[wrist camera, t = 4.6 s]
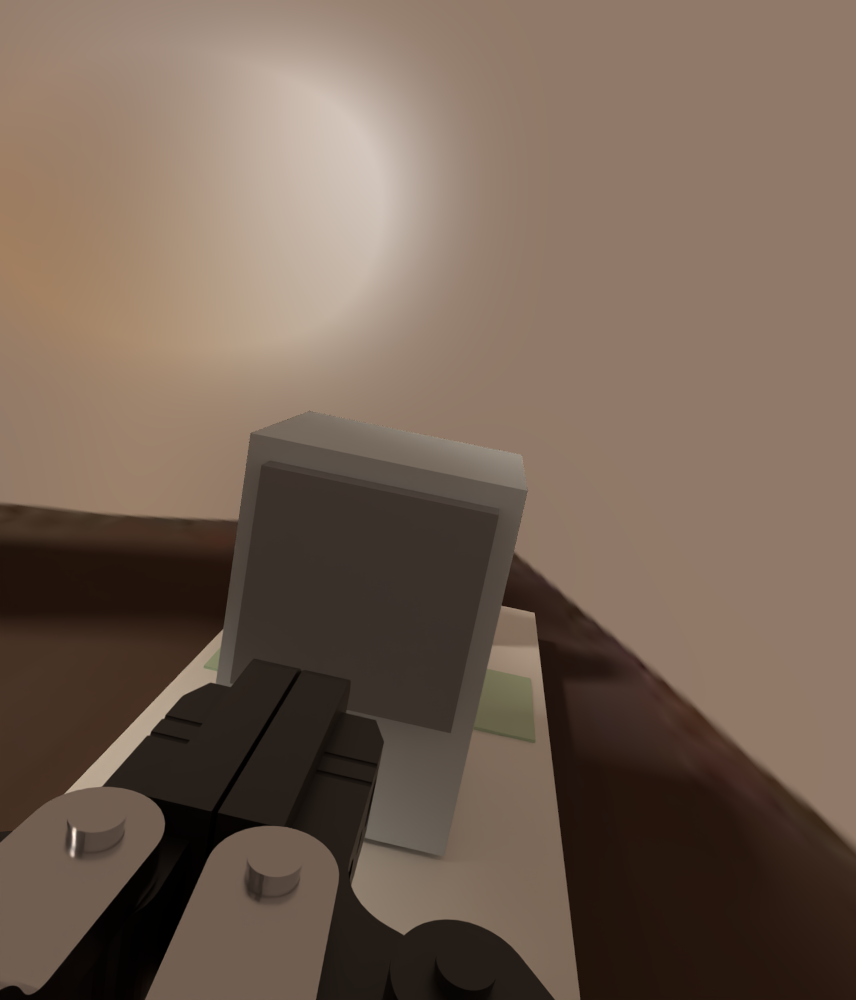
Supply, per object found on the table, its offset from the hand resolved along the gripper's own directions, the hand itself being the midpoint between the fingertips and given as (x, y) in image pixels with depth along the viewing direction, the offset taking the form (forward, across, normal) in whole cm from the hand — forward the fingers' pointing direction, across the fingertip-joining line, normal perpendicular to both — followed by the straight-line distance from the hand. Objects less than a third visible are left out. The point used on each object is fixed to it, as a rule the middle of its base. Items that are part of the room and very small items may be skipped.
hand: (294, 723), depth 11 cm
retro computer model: (+8, 0, +6) cm, 10 cm away
